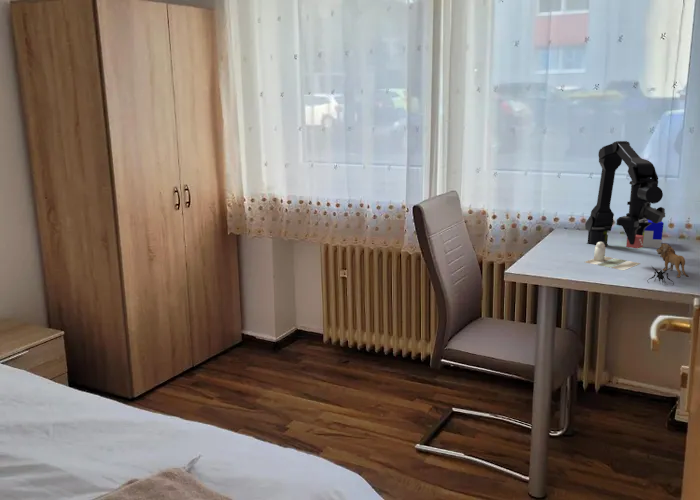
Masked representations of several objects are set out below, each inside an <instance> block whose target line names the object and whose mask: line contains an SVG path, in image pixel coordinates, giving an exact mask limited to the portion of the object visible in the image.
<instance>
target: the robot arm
mask: <svg viewBox="0 0 700 500" xmlns="http://www.w3.org/2000/svg"><path fill="white" fill-rule="evenodd" d="M622 161H623V162H624V163H625V165H626V166H627V167H628V170H627V173H628V175H629V178H630V179H631V180H630V181H629V185H630V196H629V201H627V203H626V205H627V206H628V207H629V209H628V213H626V215H622V216H619V217H617V219H616V224H615V225H616V226H620V227H622V228H623V230H624V233H625V235H626V239H627V238H628V240H629V243H630V244H632V245H633V244H634V241H635V237H636V235H643V233H644V231H645V229H646V227H647V226H649V225H650V224H652V223H650V222H648V220H650V221H652V222H653V223H659V222H661V221H662V222H663V219H664V218H666V210H665V209H666V208H665V207H662V206H659V207H657V208H656V207H652V205H651V204H653V205H654V204H657V203H659V202H660V201H661V200H662V198H663V196H664V194H663V190H662V189H661V188H660V187H659V177H658V174H657V171H656V167H655V166H654V164H653V162H651V161H650V160H648V159H645V158H642V157H641V156H639V154H638V153H637V152H636V151H635V150H634V148H633V147H632V146H631V143H630V142H629V141H627V140H617V141H614V142H612V143H610V144H608V145H604V146H602V147H601V148H600V149H599V150H598V163H599V165H600V167H601V174H600V180H599V188H598V194H597V200H596V205H594V207H593V208H592V209H591V211H590V214H589V215H590V216H589V217H588V219H587V220H586V222H585V223H584V225H585V226H584V228H585V230H586V231H588V233H587V243H585V244H587V245H590V246H591V245H593V246H596V244H597V243H598V242H603V243H604V244H605V247H607V246H608V245H609V244H608V239H609V235H608V232H611V230H612V227H613V224H614V217H615V213H614V212H613V211H612V208H611V200H612V195H613V190H614V189H613V187H614V183H615V177H616V176H615V175H616V170H618V169H619V167H620V166H621V165H622Z"/></svg>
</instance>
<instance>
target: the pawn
mask: <svg viewBox="0 0 700 500" xmlns="http://www.w3.org/2000/svg"><path fill="white" fill-rule="evenodd" d="M606 247H607V246H605V244H604V243H603V242H598V243H597V244H596V245H594V253H593V254H594V255H593V259H594V260H595V261H604V260H605V256H606Z"/></svg>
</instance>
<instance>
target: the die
mask: <svg viewBox="0 0 700 500" xmlns="http://www.w3.org/2000/svg"><path fill="white" fill-rule="evenodd" d="M643 238H644V236H643V235H636V237H635V241H634V244H633V245H632V244H630V243H629V240H628V238H627V237H626V248H632V249H638V250H639V249H641V248H644V247H643Z"/></svg>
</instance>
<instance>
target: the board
mask: <svg viewBox="0 0 700 500" xmlns="http://www.w3.org/2000/svg"><path fill="white" fill-rule="evenodd" d="M584 263H585V264H586V263H587V264H591V265H597V266H600V267H605V268H611V269H616V270H619V271H626V270H628V269H630V268H633V267H636V266H638V265H641V262H636V261H630V260H627V259H626V260H625V259H621V258H614V257H610V256H606V255H605V260H604V261H595V260H594V258H590V259H589V260H586V261H584Z"/></svg>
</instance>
